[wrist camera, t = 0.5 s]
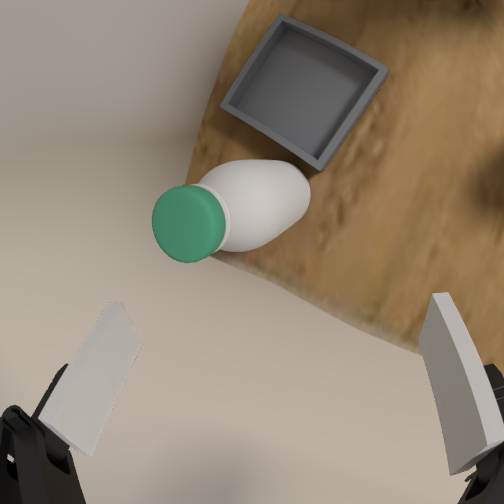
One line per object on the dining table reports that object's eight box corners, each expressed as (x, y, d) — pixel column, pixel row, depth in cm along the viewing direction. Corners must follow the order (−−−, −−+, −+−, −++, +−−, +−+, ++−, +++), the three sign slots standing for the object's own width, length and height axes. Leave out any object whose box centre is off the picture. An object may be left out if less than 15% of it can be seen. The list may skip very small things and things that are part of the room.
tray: (287, 23, 28) (279, 13, 26) (387, 76, 26) (389, 68, 24) (230, 110, 34) (218, 106, 31) (323, 170, 32) (319, 171, 30)
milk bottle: (303, 153, 33) (220, 141, 15) (318, 219, 34) (255, 283, 16) (241, 169, 36) (119, 181, 18) (256, 230, 37) (151, 293, 19)
